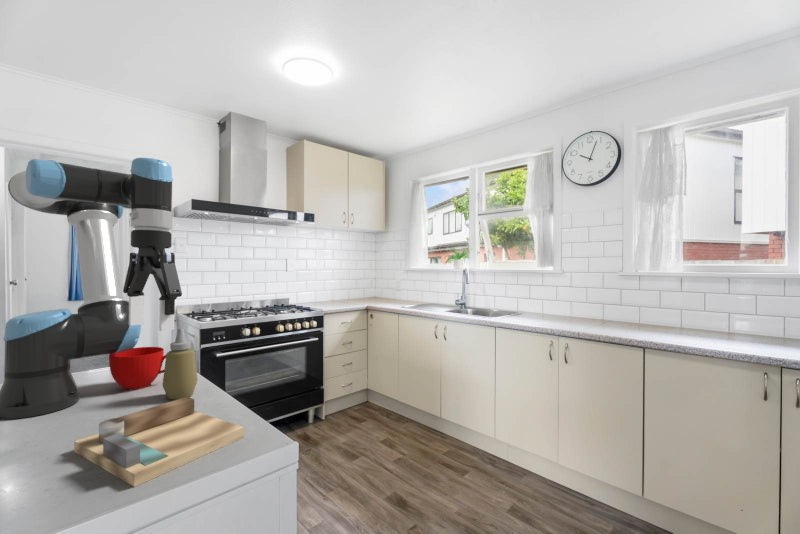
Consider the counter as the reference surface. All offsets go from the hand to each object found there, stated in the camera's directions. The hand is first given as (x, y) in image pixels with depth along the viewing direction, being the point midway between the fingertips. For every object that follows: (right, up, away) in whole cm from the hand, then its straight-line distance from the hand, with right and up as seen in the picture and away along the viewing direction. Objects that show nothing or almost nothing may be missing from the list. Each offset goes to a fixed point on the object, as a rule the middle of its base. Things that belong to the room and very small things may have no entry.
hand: (150, 327), depth 83 cm
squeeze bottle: (-3, -21, +17) cm, 27 cm away
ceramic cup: (-19, -21, +26) cm, 38 cm away
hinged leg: (+4, -19, -7) cm, 20 cm away
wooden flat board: (+9, -21, -10) cm, 25 cm away
